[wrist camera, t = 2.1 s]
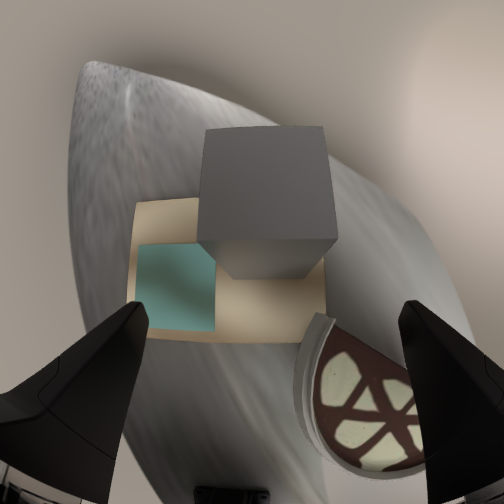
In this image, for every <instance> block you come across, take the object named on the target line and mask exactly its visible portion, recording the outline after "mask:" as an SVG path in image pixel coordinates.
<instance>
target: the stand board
mask: <svg viewBox="0 0 504 504" xmlns="http://www.w3.org/2000/svg"><path fill="white" fill-rule="evenodd" d="M198 206H199V198H184V199H171V200H158V201H147V202H137V203H136V209H135V216H134V223H133V231H132V240H131V249H130V259H129V271H128V286H127V303H129V302H130V301H140V302H142V303H143V305H144V307H145V310H146V313H147V315H148V318H149V327H148V332H147V337H146V338H154V339H165V340H178V341H193V342H213V343H300V342H302V340H303V337H304V335H305V332H306V329H307V328H308V326H309V324H310V322H311V320H312V318H313V316H314V314H315V313H316V312H318V313H322V314H325V315H326V293H325V270H324V256H323V257H322V258H321V260H320V261H319V262H318V263H317V264H316V266H315V267H314V268H313V269H312V270H311V271H310V273H309V274H308V275H307V276H306V277H305V278H304V279H260V280H233V279H232V278H231V277H230V276H229V275H228V274H227V273H226V272H225V271H224V269H223V268H222V267H221V266H220V265H219V264H218V263H217V262H216V261H215V260H214V259H213V258H212V257H211V256H210V255H209V254H208V253H207V252H206V251H205V250H204V249H203V248H202V247H201V246H200V244H199V243H198V242H197V241H196V238H197V221H198Z"/></svg>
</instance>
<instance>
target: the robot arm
mask: <svg viewBox="0 0 504 504" xmlns="http://www.w3.org/2000/svg"><path fill="white" fill-rule="evenodd" d="M398 325H399V330H400V335H401V341H402V346H403V352H404V358H405V362H406V367H407V370H408V374H409V378H410V382H411V387H412V391H413V395H414V400H415V404H416V409H417V414H418V420H419V425H420V431H421V437H422V444H423V451H424V459H425V469H426V479H427V492H428V504H442V503H446V502H449V501H451V500H455V499H457V498H460V497H463V496H464V500H462V501H461V502H459V503H457V504H504V370H503V369H502V368H500V367H499V366H498V365H497V364H496V363H494V362H493V361H492V360H491V359H490V358H489V357H487V356H486V355H484V353H483V352H481V351H480V350H479V349H478V348H477V347H476V346H474V345H473V344H472V343H471V342H470V341H468V340H467V339H466V338H465V337H463V336H462V335H461V334H460V333H459V332H457V331H456V330H455V329H454V328H452V327H451V326H450V325H449V324H447V323H446V322H445V321H443V320H442V319H441V318H440V317H438V316H437V315H436V314H434V313H433V312H432V311H431V310H429V309H428V308H427V307H425V306H424V305H423V304H421V303H420V302H419V301H417V300H408V301H406V302H405V303H404V306H403V308H402V311H401V313H400V316H399V319H398ZM148 327H149V318H148V315H147V313H146V310H145V307H144V305H143V303H142V302H140V301H130V302H129V303H127V304H126V305H125V306H123V307H122V308H121V309H119V310H118V311H117V312H115V313H114V314H113V315H111V316H110V317H109V318H107V319H106V320H105V321H103V322H102V323H101V324H99V325H98V326H97V327H95V328H94V329H93V330H91V331H90V332H89V333H87V334H86V335H85V336H84V337H82V338H81V339H80V340H78V341H77V342H76V343H75V344H73V345H72V346H71V347H69V348H68V349H67V350H66V351H64V352H63V353H62V354H61V355H60V356H58V357H57V358H55V359H54V360H53V361H52V362H50V363H49V364H48V365H46V366H45V367H44V368H42V369H41V370H40V371H38V372H37V373H35V374H34V375H32V376H31V377H30V378H28V379H27V380H25V381H24V382H22V383H21V384H19V385H18V386H16V387H15V388H13V389H12V390H10V391H8V392H6V393H3V394H0V504H81V502H82V499H84V500H87V501H90V502H93V503H97V504H108V499H109V493H110V487H111V482H112V476H113V472H114V467H115V460H116V456H117V452H118V447H119V443H120V438H121V434H122V430H123V426H124V422H125V418H126V414H127V411H128V407H129V403H130V400H131V396H132V392H133V389H134V385H135V382H136V378H137V375H138V372H139V368H140V365H141V361H142V357H143V352H144V347H145V342H146V337H147V332H148ZM198 490H200V491H201V492H199V491H198ZM193 492H194V499H195V504H270V493H269V492H267V491H248V490H231V489H219V488H210V487H203V486H196V487H195V488H194V490H193ZM262 495H266V496H265V497H264V496H262Z"/></svg>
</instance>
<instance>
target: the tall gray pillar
mask: <svg viewBox="0 0 504 504" xmlns="http://www.w3.org/2000/svg"><path fill="white" fill-rule="evenodd" d="M337 239H338V232H337V222H336V213H335V204H334V196H333V188H332V181H331V174H330V167H329V161H328V154H327V148H326V143H325V137H324V132H323V127H317V126H316V127H315V126H255V127H235V128H221V129H210V130H206V133H205V141H204V150H203V160H202V170H201V181H200V193H199V206H198V221H197V238H196V241H197V242H198V243H199V244H200V246H201V247H202V248H203V249H204V250H205V251H206V252H207V253H208V254H209V255H210V256H211V257H212V258H213V259H214V260H215V261H216V262H217V263H218V264H219V265H220V266H221V267H222V268H223V269H224V271H225V272H226V273H227V274H228V275H229V276H230V277H231V278H232V279H233V280H260V279H304V278H305V277H306V276H307V275H308V274H309V273H310V271H311V270H312V269H313V268H314V267H315V266H316V264H317V263H318V262H319V261H320V260H321V258H322V257H323V256H324V255H325V254H326V252H327V251H328V250H329V249H330V248H331V246H332V245H333V244H334V243H335V242H336V240H337Z"/></svg>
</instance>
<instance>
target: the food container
mask: <svg viewBox="0 0 504 504" xmlns="http://www.w3.org/2000/svg"><path fill="white" fill-rule="evenodd" d="M335 321H336V319H335V318H330V317H329V316H327V315H325V314H322V313H318V312H316V313H315V314H314V316H313V318H312V320H311V322H310V324H309V326H308V328H307V329H306V332H305V335H304V337H303V340H302V343H301V345H300V348H299V351H298V356H297V360H296V365H295V369H294V382H293V394H294V404H295V410H296V413H297V417H298V420H299V424H300V426H301V428H302V430H303V432H304V434H305V436H306V438H307V439H308V440H309V442H310V443H311V444H312V445H313V447H314V448H315V449H316V450H317V451H318V452H319V453H320V454H321V455H322V456H323V457H324V458H325V459H326V460H327V461H328V462H330V463H331V464H332V465H334V466H335V467H336V468H337V469H340V470H342V471H343V472H345V473H347V474H349V475H353V476H356V477H359V478H363V479H367V480H373V481H393V480H401V479H404V478H408V477H412V476H415V475H418V474H420V473H422V472H425V471H426V469H425V459H424V451H423V444H422V437H421V431H420V425H419V420H418V414H417V409H416V404H415V400H414V395H413V391H412V387H411V382H410V378H409V374H408V370H406V369H405V368H403V367H402V366H400V365H398V364H397V363H395V362H394V361H392V360H390V359H389V358H387V357H386V356H384V355H383V354H381V353H379V352H378V351H376V350H374V349H373V348H371V347H370V346H368V345H366V344H365V343H363V342H362V341H360V340H359V339H357V338H355V337H354V336H352V335H350V334H349V333H347V332H346V331H344V330H342V329H341V328H339V327H337V326H336V325H334V323H335Z"/></svg>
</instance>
